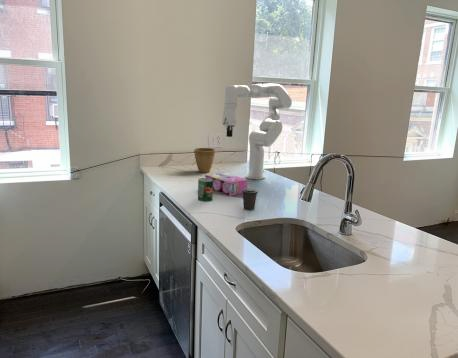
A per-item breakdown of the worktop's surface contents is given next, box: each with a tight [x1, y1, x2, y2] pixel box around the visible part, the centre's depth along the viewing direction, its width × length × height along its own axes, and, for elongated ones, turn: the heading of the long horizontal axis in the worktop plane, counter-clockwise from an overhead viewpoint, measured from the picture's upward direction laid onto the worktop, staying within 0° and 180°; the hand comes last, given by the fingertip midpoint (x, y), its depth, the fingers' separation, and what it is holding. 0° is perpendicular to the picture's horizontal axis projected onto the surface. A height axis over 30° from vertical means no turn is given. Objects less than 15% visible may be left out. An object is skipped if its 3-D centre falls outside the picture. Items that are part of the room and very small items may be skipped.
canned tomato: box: [197, 177, 214, 203], centre depth 201 cm, size 8×8×11 cm
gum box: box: [204, 171, 249, 197], centre depth 222 cm, size 24×8×14 cm
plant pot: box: [193, 147, 216, 174], centre depth 268 cm, size 15×15×16 cm
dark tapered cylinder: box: [242, 187, 259, 211], centre depth 189 cm, size 8×8×10 cm
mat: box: [213, 190, 243, 199], centre depth 219 cm, size 14×24×1 cm, turn 60°
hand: (229, 136), depth 235 cm, fingers closed
